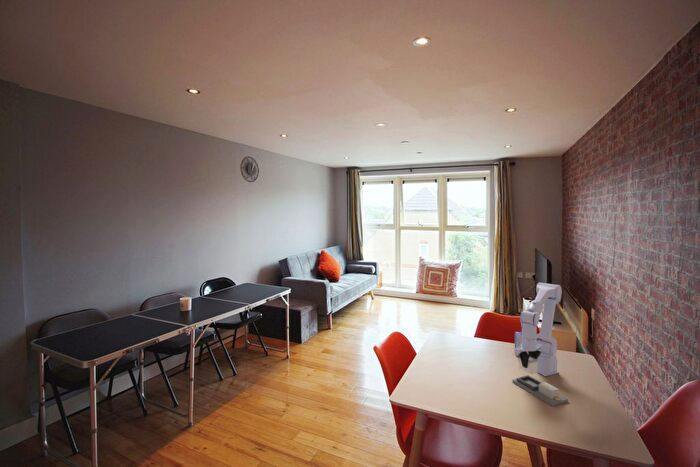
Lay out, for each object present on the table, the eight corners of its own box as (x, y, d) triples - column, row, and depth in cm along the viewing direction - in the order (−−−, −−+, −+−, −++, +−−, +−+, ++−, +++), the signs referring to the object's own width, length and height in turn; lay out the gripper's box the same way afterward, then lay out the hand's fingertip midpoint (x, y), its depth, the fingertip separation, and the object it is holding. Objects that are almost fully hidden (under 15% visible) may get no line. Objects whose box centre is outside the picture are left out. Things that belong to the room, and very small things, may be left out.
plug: (525, 366, 148) (525, 354, 148) (537, 372, 142) (537, 359, 142) (519, 368, 147) (519, 355, 146) (530, 374, 141) (530, 361, 141)
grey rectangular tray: (526, 378, 150) (526, 369, 150) (568, 401, 132) (568, 391, 131) (512, 382, 147) (512, 372, 147) (552, 406, 129) (553, 395, 128)
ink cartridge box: (533, 354, 176) (534, 328, 175) (535, 358, 171) (536, 332, 170) (513, 351, 179) (514, 327, 179) (515, 356, 174) (516, 330, 173)
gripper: (533, 332, 150) (532, 359, 150) (509, 336, 145) (509, 364, 146) (546, 337, 143) (546, 366, 144) (522, 342, 138) (522, 372, 139)
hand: (528, 366), depth 144 cm, fingers closed on plug, 4 cm apart
